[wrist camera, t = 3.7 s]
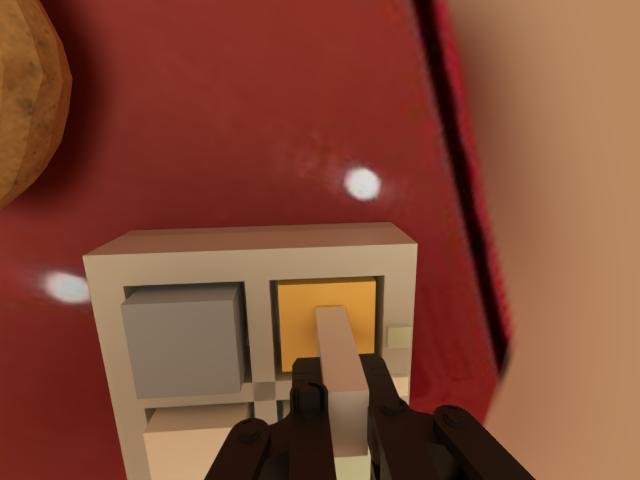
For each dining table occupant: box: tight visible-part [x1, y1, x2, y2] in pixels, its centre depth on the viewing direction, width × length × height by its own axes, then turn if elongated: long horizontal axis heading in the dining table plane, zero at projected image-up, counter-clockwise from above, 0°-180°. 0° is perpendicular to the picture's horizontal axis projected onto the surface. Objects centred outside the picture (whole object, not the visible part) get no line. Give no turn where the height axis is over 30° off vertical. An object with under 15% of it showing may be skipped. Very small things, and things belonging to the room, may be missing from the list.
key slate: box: [120, 281, 248, 399], centre depth 18 cm, size 5×5×3 cm
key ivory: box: [143, 402, 252, 480], centre depth 20 cm, size 5×5×3 cm
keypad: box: [82, 222, 418, 480], centre depth 21 cm, size 16×16×6 cm
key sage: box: [283, 399, 371, 480], centre depth 20 cm, size 5×5×3 cm
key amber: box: [278, 276, 376, 372], centre depth 20 cm, size 5×5×3 cm
